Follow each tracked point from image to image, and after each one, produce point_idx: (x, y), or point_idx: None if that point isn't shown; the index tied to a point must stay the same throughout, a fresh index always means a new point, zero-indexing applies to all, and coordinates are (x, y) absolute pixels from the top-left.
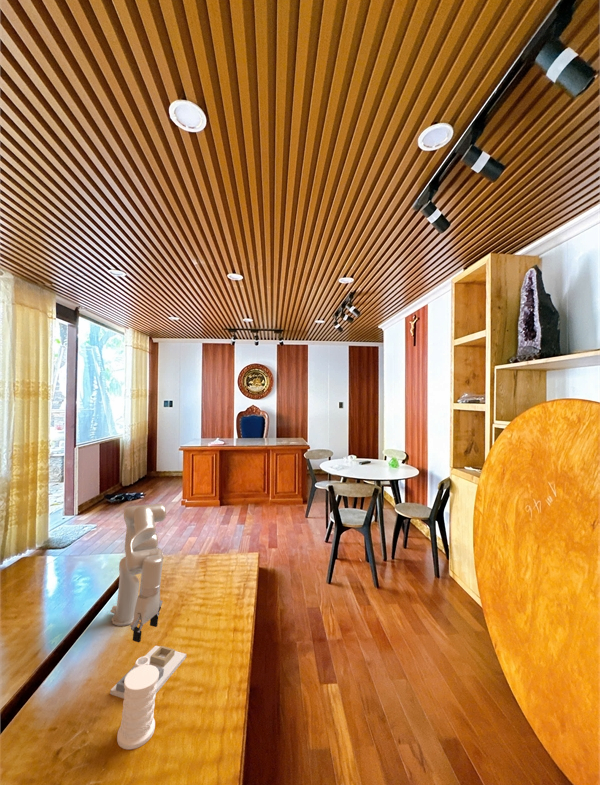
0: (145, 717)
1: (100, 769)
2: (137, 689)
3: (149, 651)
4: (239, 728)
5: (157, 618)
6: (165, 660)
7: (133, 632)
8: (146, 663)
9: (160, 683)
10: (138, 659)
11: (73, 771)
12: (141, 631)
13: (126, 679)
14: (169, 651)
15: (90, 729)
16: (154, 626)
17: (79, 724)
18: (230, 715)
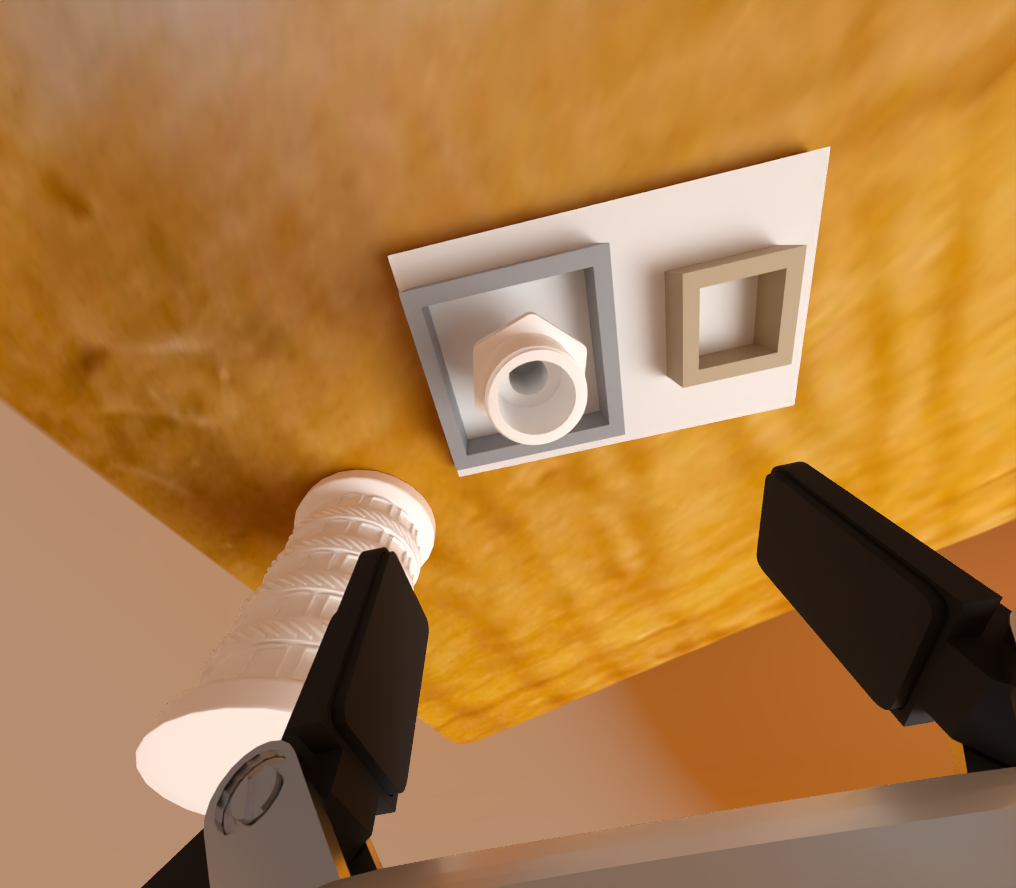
0: None
1: (219, 539)
2: (198, 811)
3: (755, 165)
4: (563, 704)
5: (878, 694)
6: (688, 384)
7: (313, 669)
8: (532, 444)
9: (567, 449)
10: (530, 360)
11: (137, 480)
12: (396, 799)
13: (158, 742)
14: (772, 335)
15: (235, 373)
16: (761, 543)
17: (198, 301)
18: (586, 674)
